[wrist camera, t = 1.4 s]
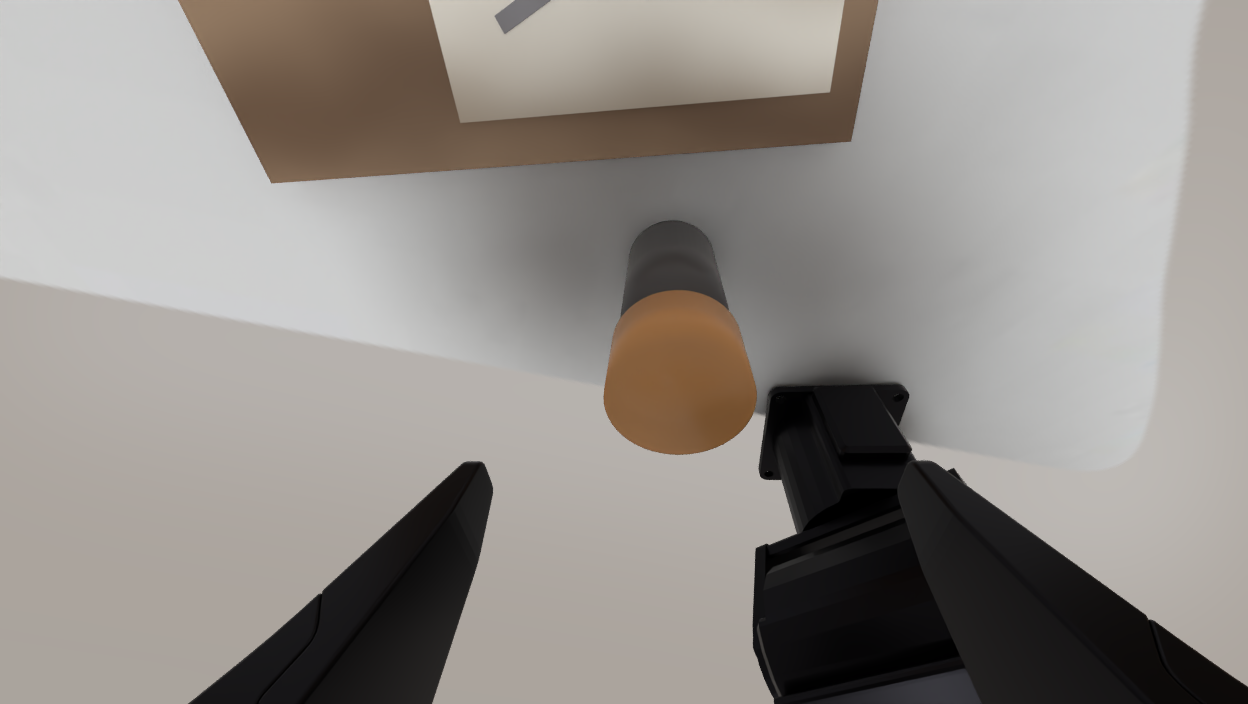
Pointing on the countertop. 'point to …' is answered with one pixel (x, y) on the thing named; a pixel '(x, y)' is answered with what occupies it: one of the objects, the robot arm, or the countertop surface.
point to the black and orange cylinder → (677, 348)
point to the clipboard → (529, 79)
